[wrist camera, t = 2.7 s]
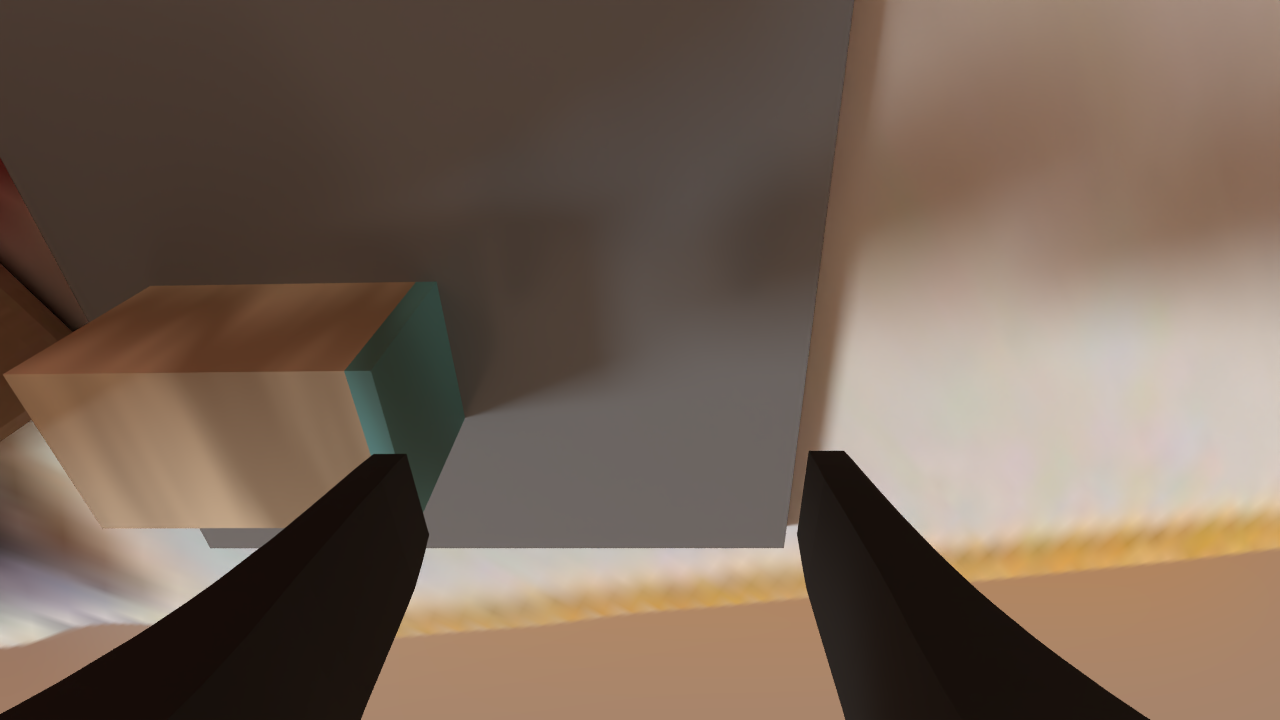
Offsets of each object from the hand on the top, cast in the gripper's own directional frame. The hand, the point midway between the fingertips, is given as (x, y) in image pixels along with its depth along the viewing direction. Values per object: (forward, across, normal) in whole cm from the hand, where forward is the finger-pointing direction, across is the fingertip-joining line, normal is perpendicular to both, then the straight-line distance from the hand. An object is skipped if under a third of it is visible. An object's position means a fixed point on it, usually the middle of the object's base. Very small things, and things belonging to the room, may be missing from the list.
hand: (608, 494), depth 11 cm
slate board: (+6, +4, -1) cm, 7 cm away
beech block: (+3, +4, 0) cm, 5 cm away
